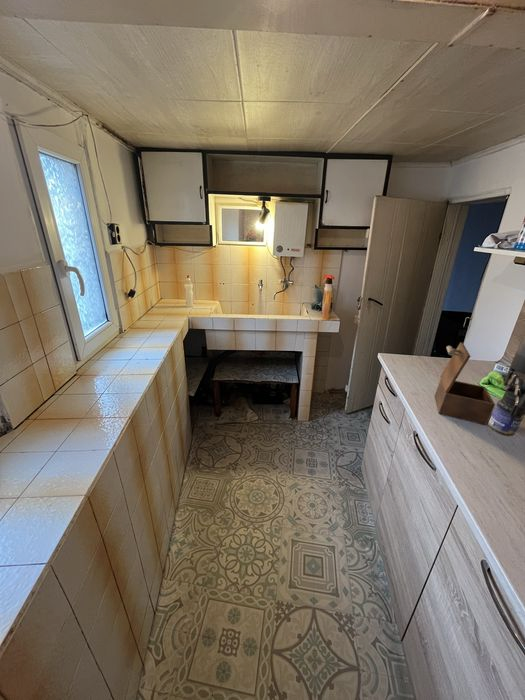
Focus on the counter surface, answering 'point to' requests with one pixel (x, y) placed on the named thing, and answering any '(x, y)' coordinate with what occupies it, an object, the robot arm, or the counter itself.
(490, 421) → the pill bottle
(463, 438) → the counter surface
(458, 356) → the bin lid
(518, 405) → the robot arm
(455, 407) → the bin
